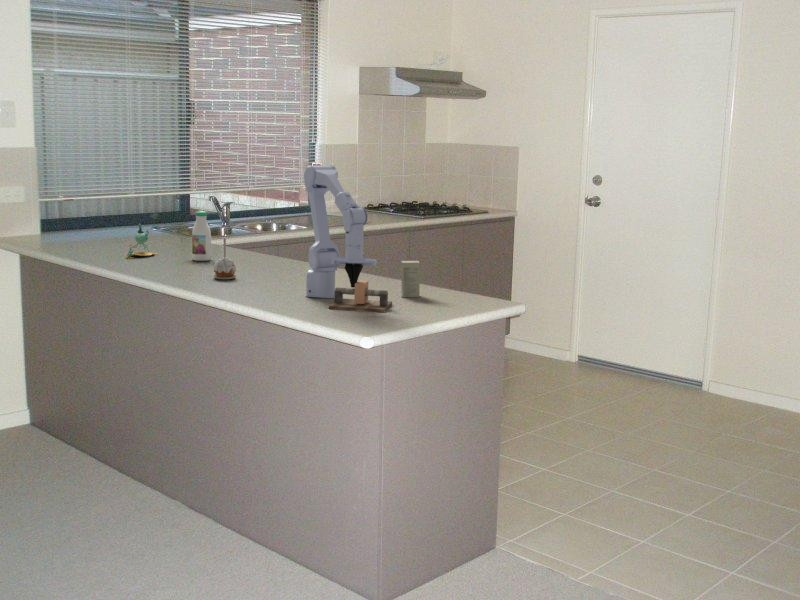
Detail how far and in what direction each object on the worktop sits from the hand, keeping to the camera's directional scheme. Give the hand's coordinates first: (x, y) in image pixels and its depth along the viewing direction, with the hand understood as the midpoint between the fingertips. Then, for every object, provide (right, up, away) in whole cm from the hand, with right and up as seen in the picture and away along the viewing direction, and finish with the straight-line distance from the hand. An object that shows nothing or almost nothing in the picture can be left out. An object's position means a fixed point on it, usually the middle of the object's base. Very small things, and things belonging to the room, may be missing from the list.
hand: (353, 287), depth 303 cm
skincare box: (+18, -3, +20) cm, 28 cm away
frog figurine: (-95, +14, +92) cm, 132 cm away
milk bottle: (-67, +12, +86) cm, 110 cm away
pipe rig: (+2, -6, +1) cm, 7 cm away
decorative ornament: (-50, +4, +45) cm, 67 cm away
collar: (+2, -5, 0) cm, 5 cm away
